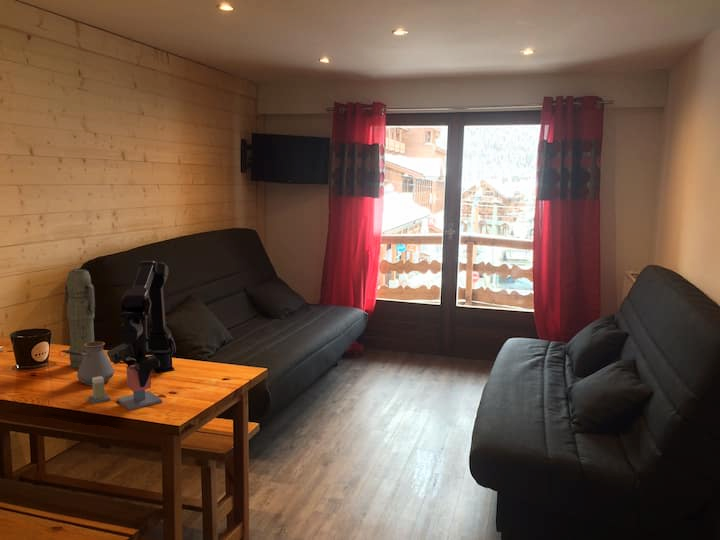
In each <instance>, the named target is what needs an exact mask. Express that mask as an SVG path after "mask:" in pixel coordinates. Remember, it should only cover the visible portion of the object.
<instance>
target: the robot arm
mask: <svg viewBox="0 0 720 540" xmlns="http://www.w3.org/2000/svg"><path fill="white" fill-rule="evenodd" d="M138 266H139V268H138V272H137V276H136V278H135V281H134V282H133V286H132V287H130V288H128V289H127V290H126V291H125V293H124V295H123V297H121V299H120V306H119V312H118V320H123V323H122V325H120V326H119V327H118V329H117V330H116V337H117V339H118V341H119V342H120V343H122V344H119V345H117V346H115V347H113V348H111V349H109V350H107V351H106V353H107V354H106V355H107V358H108V360H109V361H110V363H113V364H114V365H117V364H120V363H121V362H123V363H124V364H126V365H127V366H130V365H135V367H133V368H134V369H135V370H136V371H137V372H138V377H139V382H140V386H141V387H144V386H145V384H146V382H147V380H148V378H149V376H150V377H151V374H152V371H153V372H155V373H157V374H159V373H164V372H169V371H174V370H175V367H173V355H174V354H175V353H176V352H177V349H176V347H177V346H176V343H175V341H174V338H173V336H172V332H171V330H170V328H168V326H167V325H166V313H165V312H166V311H165V310H166V309H165V298H164V297H165V296H164V284H166V281H167V280H168V276H169V267H168V265H167V264H165V262H157V261H154V260H142V261H140V262H139V265H138ZM148 316H150V318H151V320H150V321H151V330H150V332H149V333H148V321H147V320H148V319H147V318H148Z"/></svg>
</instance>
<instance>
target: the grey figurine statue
mask: <svg viewBox="0 0 720 540" xmlns="http://www.w3.org/2000/svg"><path fill="white" fill-rule="evenodd" d="M64 290H65V291H64V294H65V303H66V305H65V306H66V307H65V309H66V314H67V318H66V319H67V321H68V326H69V327H68V328H69V343H70V345H69V348H68V350H69V351H76V352H80V353H86V348H85V347H84V344H85V343H89V342H95V331H94V330H95V329H94V328H95V327H94V320H95V312H96V298H95V294H96V293H95V287H94V285H93V283H92V278H91V274H90V272H89V270H86V268H85V269H84V268H80V269H79V268H78V269H77V268H76V269H71V271H68V275H67V279H66V283H65V285H64ZM68 356H69V361H70V368H71V369H74V370H79V368H80V365H81V363H82V360H83V358H84V356H82V355H72V354H68Z"/></svg>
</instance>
